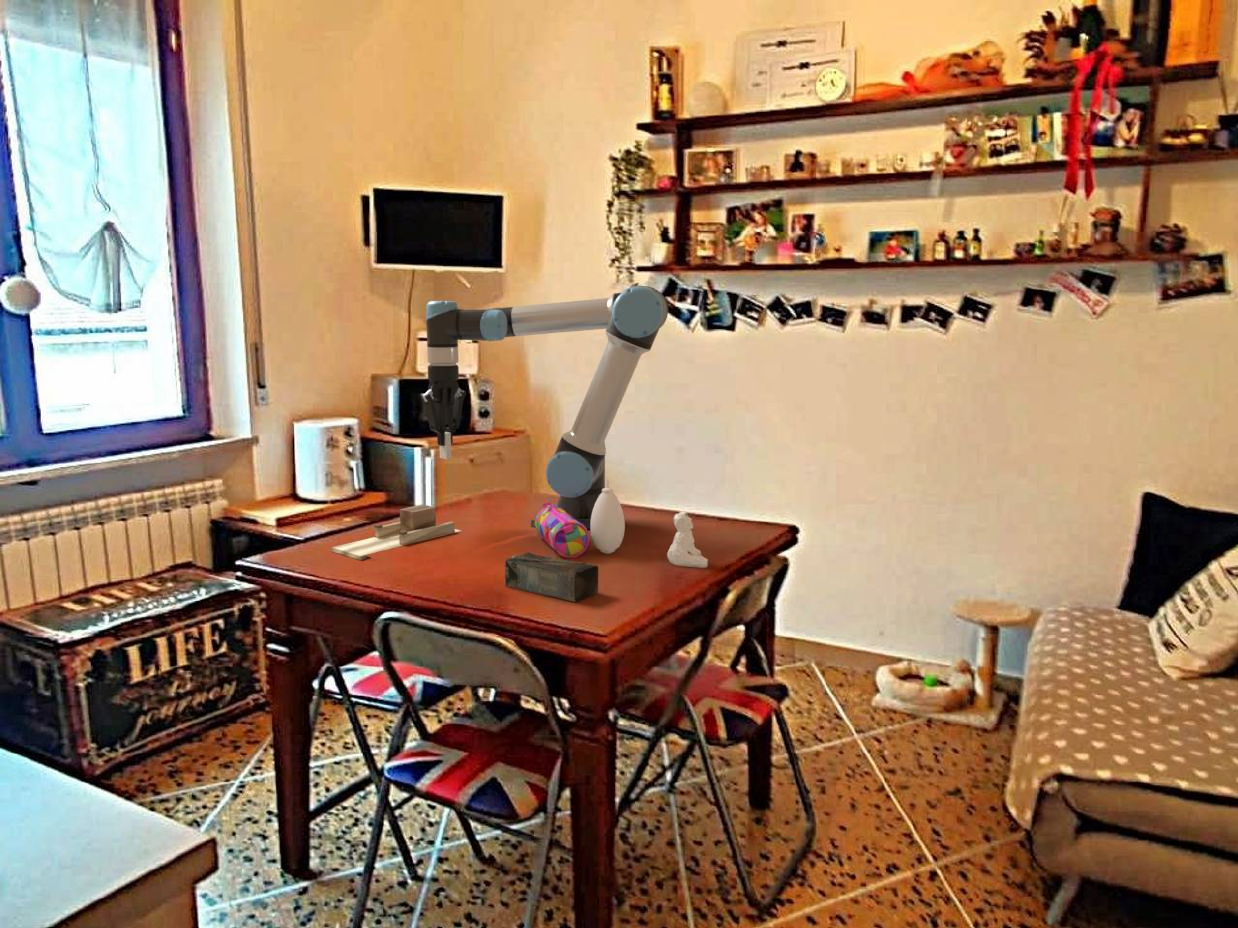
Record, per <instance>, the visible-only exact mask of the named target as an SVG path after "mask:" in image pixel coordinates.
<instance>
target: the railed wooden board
mask: <svg viewBox="0 0 1238 928" xmlns="http://www.w3.org/2000/svg"><path fill="white" fill-rule="evenodd" d="M455 523H456V522H455V521H447V522H444V523H440V524H436V525H435V526H431V527H427V528H423V529H418V530H414V531H410V532H407V531H404V530H403V531H401V527H400V521H397V522H393V523H388V524H384V525H383V524H380V523H376V524H373V525H374V527H373V529H374V537H369V538H365V539H361V540H356V541H352V542H349V543H348V542H347V543H344V544H339V545H336V546H332V547H331V552H333V553H335V554H338V555H342V556H346V557H349V558H352V559H355V560H359V561H363V560H367V559H371V558H372V557H371V556H368V555H371V554H375V553H379V552H384V551H387V550H392V549H395V548H399V547H400V548H401V547H403V546H406V545H407V546H408V545H411V544H415V543H420V542H422V541H423V542H424V541H428V540H431V539H435V538H439V537H443V536H447V535H453V534H456V533H458V532H459V533H460V532H462V530H461V529H456V524H455Z"/></svg>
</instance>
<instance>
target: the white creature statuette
mask: <svg viewBox="0 0 1238 928" xmlns="http://www.w3.org/2000/svg"><path fill="white" fill-rule="evenodd" d="M692 520H693V519H692V518H691V517H689V515H688V512H687V511H684V510H682V511H680V512H679V513H675V515H674V516H673V525H674V527H675V528H676V530H677V531H676V533H674V536H673V541H672V544H671V545H670V547H669V548H668V551H667V553H666V556H667V559H668V560H669V563H671V564H672V565H674V566H678V567H689V568H700V569H705V568H708V563H709V562H708V561H709V559H708V558H706V557H704V556H703V555H702V552H701V550H700V549H698V548H697V547H696V545H695V542H696V541H695V538H694V536H693V531H692V529H694V525H693V521H692Z"/></svg>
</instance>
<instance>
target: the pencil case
mask: <svg viewBox="0 0 1238 928" xmlns="http://www.w3.org/2000/svg"><path fill="white" fill-rule="evenodd" d="M557 505H558V504H557ZM557 505H556V504H552V502H551V501H548V502H543V503H542V507H543V508H542V509H540V510H539V511H538V513H537V515H536V517H535V519H531V521H530V528H534V529H535V530H536V532H537V534H538V535H539V536H540V537H541V538H542V539H543V540H544V541H545V542H546V543H547V544H548V545H549V546H550V547H551V548H552V549H553V550H554V551H555V552H556V553H557V554H558V555H559V556H562V557H563V558H568V559H572V558H573V559H574V558H578V557H580V556H581V555H583V554H584V553H585V552H586V551H587V549H588V547H589V545H590V535H589V532H588V529H586V527H585V526H584V525H583V524H581V523H580V522H578V521H577V520H575V519H574V518H573V517H572V516H571V515H569V514H567V513H566V511H565V510H564V509H563V508H562V507H560V506H557Z"/></svg>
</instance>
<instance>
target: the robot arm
mask: <svg viewBox="0 0 1238 928" xmlns="http://www.w3.org/2000/svg"><path fill="white" fill-rule="evenodd" d="M668 315H669V305H668V301H667V300H666V298H665V296H664V295H663V293H662V292H661V291H659V290H658V289H656V288H653V287H651V286H645V285H633V286H630V287H627V288H626V289H624V290H623V291H622V292H614V293H612V294H611V296H609V297H607V298H606V297H605V298H595V299H594V298H592V299H583V300H572V301H563V302H562V301H561V302H551V303H541V304H539V303H538V304H529V305H520V306H507V307H495V308H494V307H493V308H487V309H486V308H484V309H483V308H482V309H462V308H459V306H458V303H457V302H456V301H453V300H451V301H450V300H431V301H429V302H427V304H426V316H425V323H426V346H427V347H426V349H427V351H426V353H427V362H428V364H429V365H428V366H427V378H428V381H429V385H428V387H427V388H428V390H427V391H426V392H425V393H421V394H420V398H421V400H422V402H423V404H424V408H425V412H426V417H427V421H428V424H429V425H428V426H429V429H430V431H432V432H435V433H436V438H437V439H436V440H437V446H439V447H438V448H439V458H440V459H442V460H443V459H445V460H450V459H452V445H453V441H454V438H453V436H454V435H453V433H456V430H457V429H459V428H460V425H461V417H462V412H463V406H464V405H463V404H464V399H465V398H466V395H467V391H466V390H462V389H461V388H460V386H459V383H458V380H459V378H460V377H459V372H460V371H459V366H458V363H459V343H458V342H459V341H479V342H480V341H484V342H485V341H487V342H495V341H496V342H497V341H504V339H505V338H512V337H521V336H532V335H534V336H535V335H546V334H555V333H559V334H561V333H571V332H572V333H573V332H581V331H591V330H592V331H593V330H594V331H595V330H604V329H605V334H606V337H607V340H608V341H607V343H606V345H605V348H604V350H603V353H602V356H601V357H600V359H599V362H598V365H597V367H596V370H595V372H594V375H593V377H592V379H591V381H590V384H589V386H588V389H587V391H586V394H585V396H584V399H583V401H582V403H581V406H580V408H579V411H578V413H577V416H575V417H576V418H575V420H574V422H573V424H572V427H571V430H569V431H567V432H564V433H563V434H562V436H561V438H560V441H559V442H558V445H557V447H556V450H555V452H554V454H553V455H552V456H551V458H550V459H549V460H548V462H547V464H546V469H545V477H546V481H547V484H548V486H549V487H550V489H552V491H554V493H556V494H558V495H559V499H558V502H557V506H560V507H562V508H563V509H564V510H565V511H566V513H567V514H569V515H571V516H572V517H573V518H574V519H575V520H577V521H578V522H580V523H581V524H583V525H584V526H585V527H586V529H587V530H588V529H589V530H591V529H590V523H591V515H592V511H593V508H594V505H595V503H596V500H597V499H598V497H599V495H600V494H601V493H602V489H603V488H606V463H605V462H606V454H607V449H606V445H605V444H606V443H605V441H606V439H607V436H608V435H609V431H610V429H611V427H612V424H613V422H614V419H615V418H616V415H617V412H618V410H619V408H620V406H621V403H622V401H623V398H624V396H625V393H626V392H627V389H628V388H629V384H630V382H631V380H632V378H633V375H634V372H635V370H636V368H637V366H638V364H639V361H640V359H641V357H642V355H644V354H645V353H648V352H650V351H651V349H652V346H653V344H654V342H655V340H656V337H657V335H658V333H659V330H660V329H661V328H662V327H663V326H664V324H665V323H666V321H667V319H668Z"/></svg>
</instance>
